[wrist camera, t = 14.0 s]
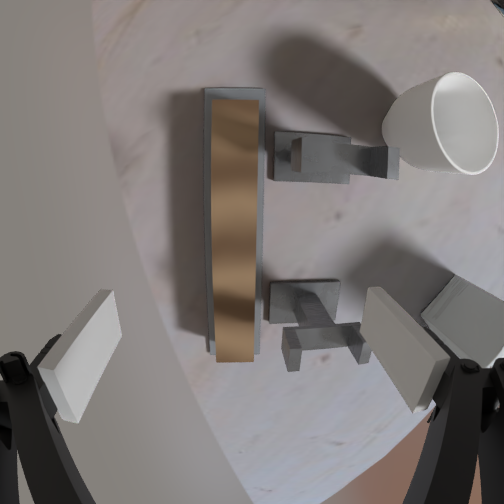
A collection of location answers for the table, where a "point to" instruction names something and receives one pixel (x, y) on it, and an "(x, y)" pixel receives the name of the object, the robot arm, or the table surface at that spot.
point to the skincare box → (468, 321)
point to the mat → (209, 96)
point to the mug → (444, 126)
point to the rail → (234, 226)
